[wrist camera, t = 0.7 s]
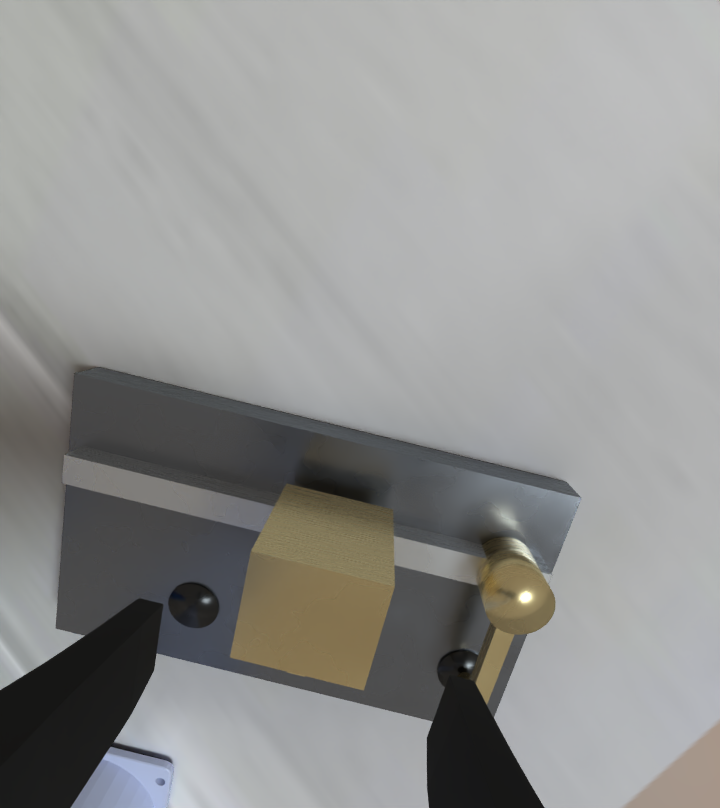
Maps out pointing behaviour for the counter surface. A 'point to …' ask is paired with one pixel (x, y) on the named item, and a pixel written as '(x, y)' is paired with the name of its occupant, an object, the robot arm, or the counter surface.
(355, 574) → the leg
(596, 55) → the counter surface
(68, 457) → the bolt plate
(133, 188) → the counter surface
